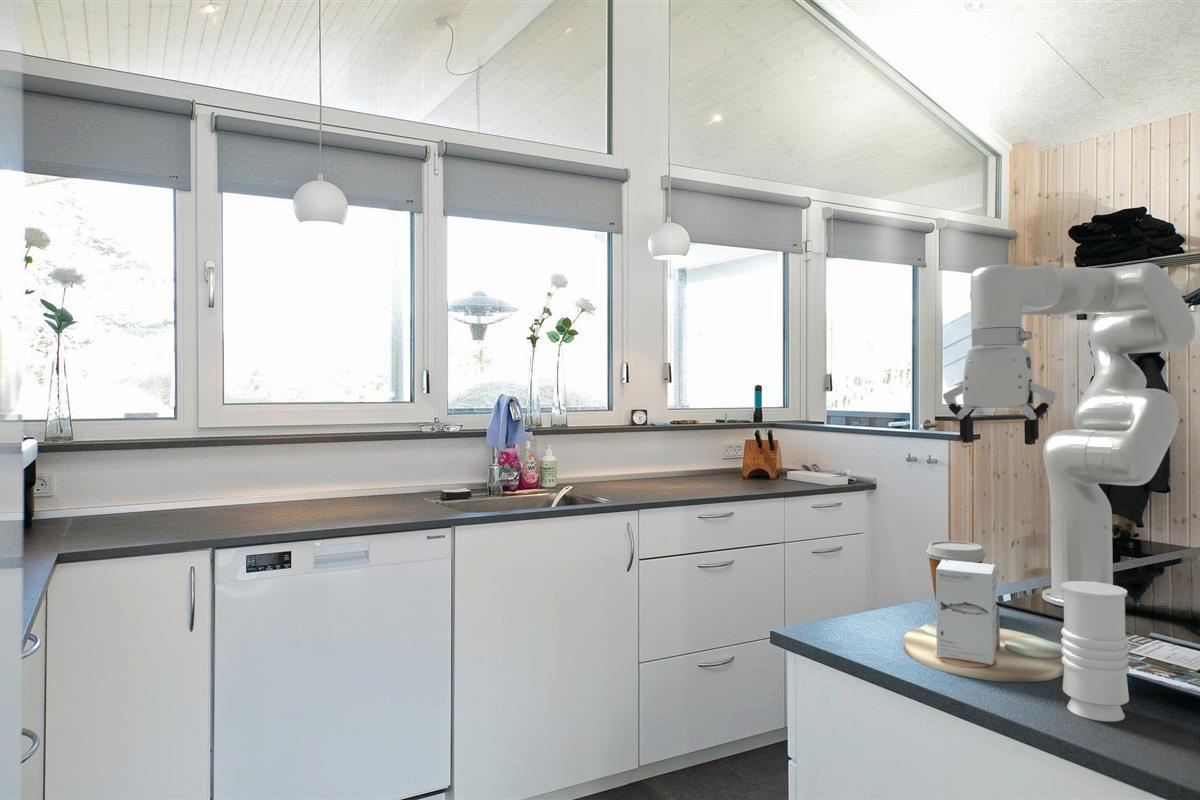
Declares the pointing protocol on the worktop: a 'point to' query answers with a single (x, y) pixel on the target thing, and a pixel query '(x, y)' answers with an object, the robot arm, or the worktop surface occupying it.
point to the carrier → (1012, 661)
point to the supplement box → (966, 611)
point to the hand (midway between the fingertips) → (998, 443)
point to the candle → (1095, 649)
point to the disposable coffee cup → (952, 554)
